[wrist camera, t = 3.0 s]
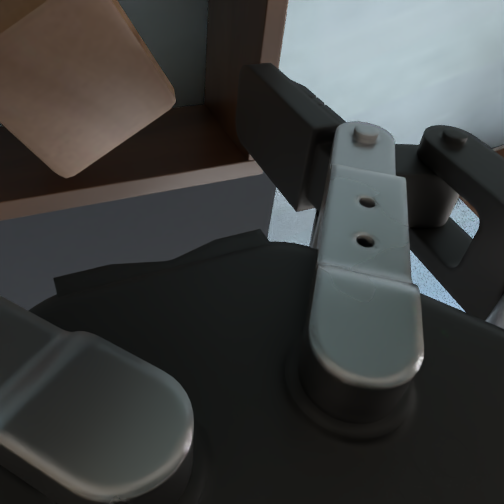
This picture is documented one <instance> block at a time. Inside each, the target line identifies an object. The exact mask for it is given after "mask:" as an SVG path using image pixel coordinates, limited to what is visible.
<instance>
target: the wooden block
mask: <svg viewBox="0 0 504 504" xmlns="http://www.w3.org/2000/svg"><path fill="white" fill-rule="evenodd" d="M175 103H176V98H175V92H174V88H173V86H172V85H171V83H170V82H169V80H168V78H167V77H166V75H165V74H164V72H163V71H162V69H161V68H160V66H159V64H158V63H157V61H156V60H155V58H154V57H153V55H152V54H151V52H150V50H149V49H148V47H147V46H146V44H145V43H144V41H143V40H142V38H141V37H140V35H139V33H138V32H137V30H136V29H135V27H134V26H133V24H132V23H131V21H130V19H129V18H128V16H127V15H126V13H125V12H124V10H123V9H122V7H121V6H120V4H119V2H118V1H117V0H0V123H1V124H2V125H3V126H4V127H5V128H6V129H7V130H9V131H10V132H11V133H12V134H13V135H14V136H15V137H16V138H17V139H18V140H20V141H21V142H22V143H23V144H24V145H25V146H26V147H27V148H28V149H29V150H30V151H32V152H33V153H34V154H35V155H36V156H37V157H38V158H39V159H40V160H41V161H43V162H44V163H45V164H46V165H47V166H48V167H49V168H50V169H51V170H52V171H53V172H55V173H56V174H58V175H60V176H62V177H64V178H69V177H72V176H75V175H76V174H78V173H79V172H81V171H82V170H84V169H85V168H86V167H88V166H89V165H91V164H92V163H94V162H95V161H97V160H98V159H99V158H101V157H102V156H104V155H105V154H107V153H108V152H110V151H111V150H112V149H114V148H115V147H117V146H118V145H120V144H121V143H123V142H124V141H125V140H127V139H128V138H130V137H131V136H133V135H134V134H136V133H137V132H138V131H140V130H141V129H143V128H144V127H146V126H147V125H148V124H150V123H151V122H153V121H154V120H156V119H157V118H159V117H160V116H161V115H163V114H164V113H166V112H167V111H169V110H170V109H171V108H172V107H173V105H174V104H175Z"/></svg>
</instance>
